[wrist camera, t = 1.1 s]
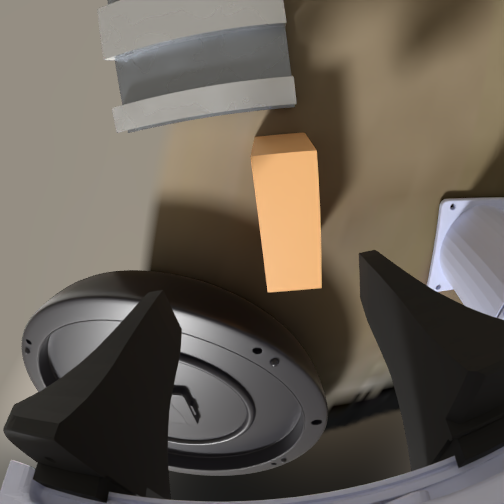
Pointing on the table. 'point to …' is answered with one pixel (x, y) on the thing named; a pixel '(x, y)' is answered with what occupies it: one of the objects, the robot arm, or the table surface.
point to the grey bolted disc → (196, 369)
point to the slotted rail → (196, 59)
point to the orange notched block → (288, 210)
